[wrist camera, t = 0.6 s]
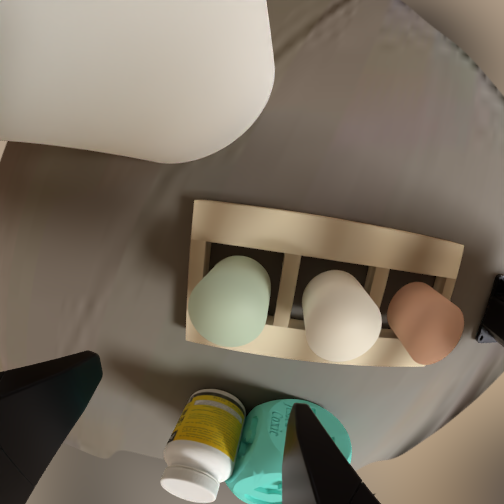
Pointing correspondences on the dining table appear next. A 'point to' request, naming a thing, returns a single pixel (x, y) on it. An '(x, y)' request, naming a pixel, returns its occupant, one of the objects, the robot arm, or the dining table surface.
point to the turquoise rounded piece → (273, 450)
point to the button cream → (339, 316)
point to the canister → (134, 74)
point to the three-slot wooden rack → (319, 246)
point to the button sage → (231, 302)
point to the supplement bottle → (203, 445)
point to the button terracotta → (425, 322)
